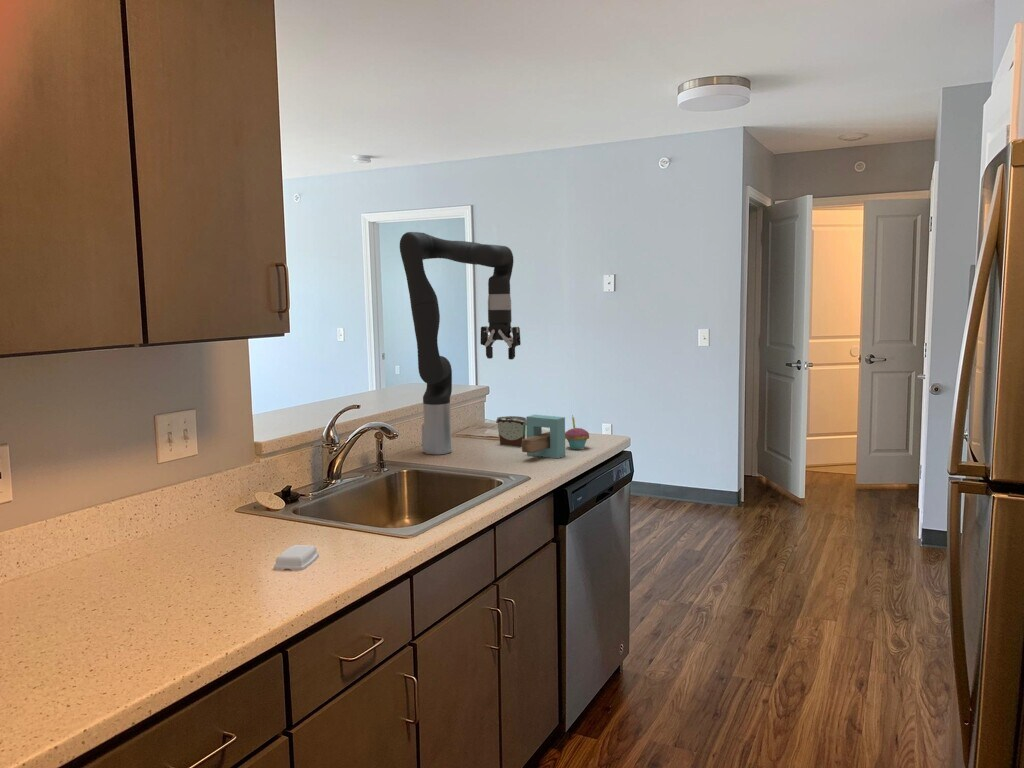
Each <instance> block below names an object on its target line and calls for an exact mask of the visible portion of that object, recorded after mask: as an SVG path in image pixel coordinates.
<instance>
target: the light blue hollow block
mask: <svg viewBox="0 0 1024 768" xmlns="http://www.w3.org/2000/svg"><path fill="white" fill-rule="evenodd" d="M525 418H526V421H527V425H526V438H529V437H533V436H536V435H540V434H543V433H542V429H543V428H548V429H549V432H550V448H547V449H544V450H541V451H537V452H534V453H527V452H526V456H533V455H535V456H534V457H541V456H543V457H542V458H548V457H550V458H551V459H556V458H557V459H560V457H561V458H563V457H566V439H565V433H566V417H564V416H555V415H543V414H532V415H528V416H525ZM557 459H556V460H557Z"/></svg>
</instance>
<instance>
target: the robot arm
mask: <svg viewBox="0 0 1024 768" xmlns="http://www.w3.org/2000/svg"><path fill="white" fill-rule="evenodd" d="M399 252H400V257H401V261H402V265H403V269H404V273H405V277H406V282H407V287H408V294H409V300H410V308H411V317H412V320H413V326H414V327H413V328H414V334H415V339H416V348H417V367H418V374H419V377H420V378H421V380H422V381H423V382H424V383H426V389H425V391H424V394H423V395H422V407H423V409H422V411H423V413H422V414H423V424H421V444H422V445H421V447H422V451H421V452H422V453H425V454H427V455H445V454H449V453H451V452H452V426H451V424H452V423H451V420H452V419H451V395H452V391H453V376H452V375H453V370H452V365H451V362H450V361H449V359H448V358H446V357H445V356H444V355H441V354H440V351H439V346H438V345H439V344H438V334H439V328H440V320H441V315H440V307H439V300H438V296H437V294H436V291H435V289H434V288H433V286H432V284H431V283H430V281H429V279H428V277H427V275H426V272H425V266H424V261H425V260H429V259H430V260H431V259H445V260H449V261H452V262H456V263H461V264H469V265H474V266H475V265H479V266H483V267H487V268H488V267H489V268H493V274H492V275H491V276H490V277H489V278H488V282H487V285H488V286H487V287H488V288H487V289H488V293H487V294H488V296H487V317H488V318H487V322H488V326H481V327H480V343H479V344H480V345H481V346H482V345H483V346H484V347H485V356H486V358H487V359H493V358H494V357H493V355H494V353H493V351H494V350H493V345H494V343H495V342H496V341H504V342H505V343H506V345H507V346H508V348H507V353H508V358H507V359H508V360H510V361H511V360H515V357H516V348H517V347H518V346H521V343H522V342H521V332H520V331H521V328H520V327H519V326H513V327H512V299H511V283H510V282H511V276H512V274H513V268H514V254H513V251H512V250H511V248H510V247H508V246H506V245H501V244H500V245H497V244H488V243H487V244H484V243H479V242H474V241H465V240H464V241H463V240H450V239H449V240H448V239H443V238H439V237H436V236H433V235H430V234H428V233H425V232H421V231H419V232H418V231H407V232H405V233H404V234H402V236H401V237H400V241H399ZM511 334H512V335H511Z"/></svg>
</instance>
